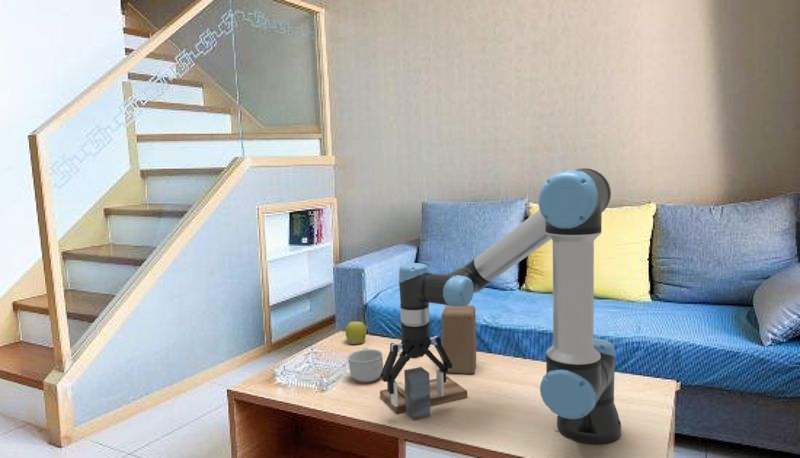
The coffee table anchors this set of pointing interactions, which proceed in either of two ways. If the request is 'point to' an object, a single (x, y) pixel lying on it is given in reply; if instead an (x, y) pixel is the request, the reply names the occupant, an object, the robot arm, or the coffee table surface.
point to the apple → (356, 332)
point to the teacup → (366, 365)
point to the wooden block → (459, 338)
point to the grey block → (416, 392)
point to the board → (450, 394)
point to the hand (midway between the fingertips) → (417, 399)
